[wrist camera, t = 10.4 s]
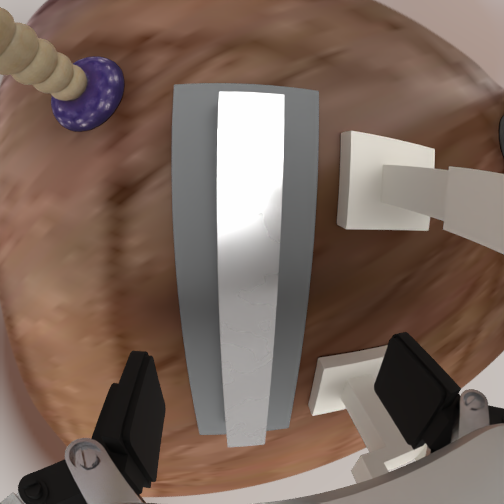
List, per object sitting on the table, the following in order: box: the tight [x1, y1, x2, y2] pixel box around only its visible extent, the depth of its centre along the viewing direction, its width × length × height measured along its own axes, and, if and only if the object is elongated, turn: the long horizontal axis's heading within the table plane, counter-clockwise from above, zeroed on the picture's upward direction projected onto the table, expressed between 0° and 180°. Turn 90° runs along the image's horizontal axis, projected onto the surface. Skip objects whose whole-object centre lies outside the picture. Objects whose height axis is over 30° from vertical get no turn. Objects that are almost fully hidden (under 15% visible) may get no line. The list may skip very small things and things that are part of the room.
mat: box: [172, 83, 319, 435], centre depth 15 cm, size 7×23×1 cm, turn 179°
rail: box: [217, 92, 284, 447], centre depth 13 cm, size 2×20×2 cm, turn 179°
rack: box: [308, 131, 504, 483], centre depth 11 cm, size 6×19×12 cm, turn 179°
